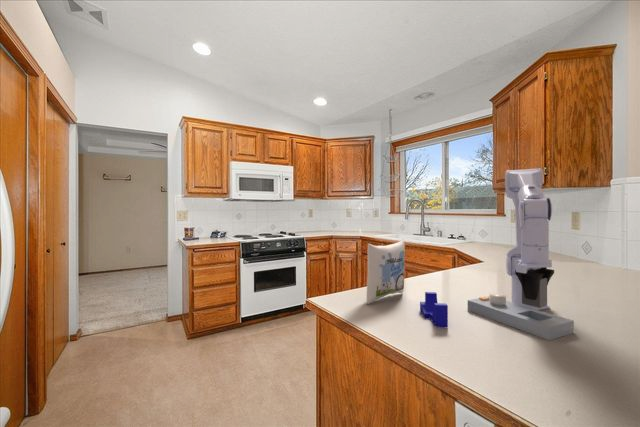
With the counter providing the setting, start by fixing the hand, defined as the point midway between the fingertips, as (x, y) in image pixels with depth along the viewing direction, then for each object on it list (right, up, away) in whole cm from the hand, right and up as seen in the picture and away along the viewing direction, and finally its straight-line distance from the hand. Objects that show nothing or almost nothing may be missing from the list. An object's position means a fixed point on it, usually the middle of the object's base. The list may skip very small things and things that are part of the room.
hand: (534, 297), depth 74 cm
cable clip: (-24, -8, +7) cm, 26 cm away
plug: (0, -2, 0) cm, 2 cm away
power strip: (-2, -8, +5) cm, 9 cm away
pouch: (-33, -8, +24) cm, 42 cm away
